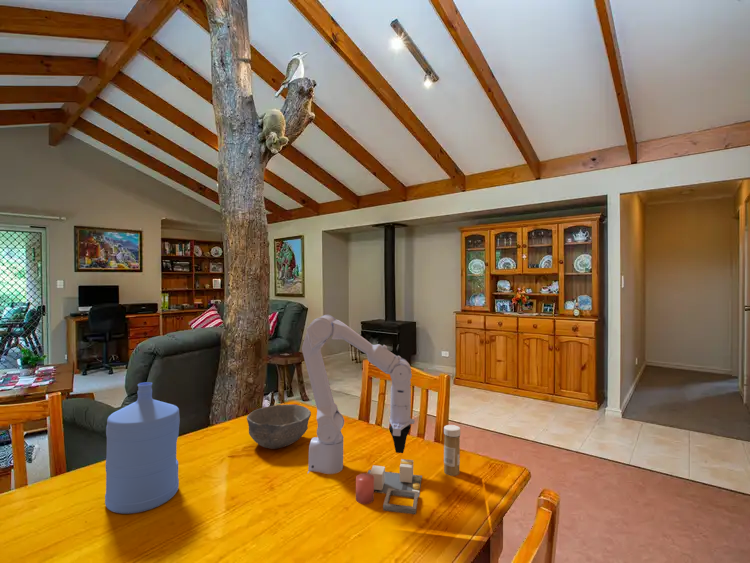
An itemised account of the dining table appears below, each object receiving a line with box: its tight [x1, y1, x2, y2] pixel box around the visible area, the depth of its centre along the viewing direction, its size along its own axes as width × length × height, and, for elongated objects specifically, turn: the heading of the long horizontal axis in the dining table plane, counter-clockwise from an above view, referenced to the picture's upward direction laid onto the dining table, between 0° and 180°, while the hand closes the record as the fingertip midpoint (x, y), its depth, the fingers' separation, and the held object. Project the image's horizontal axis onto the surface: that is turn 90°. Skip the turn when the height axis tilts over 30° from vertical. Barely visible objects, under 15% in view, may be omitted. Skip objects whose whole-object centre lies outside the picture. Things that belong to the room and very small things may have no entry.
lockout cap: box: [355, 472, 375, 505], centre depth 96 cm, size 4×4×6 cm
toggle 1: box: [370, 464, 386, 490], centre depth 102 cm, size 3×4×4 cm
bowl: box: [246, 404, 312, 450], centre depth 130 cm, size 21×21×10 cm
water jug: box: [104, 381, 181, 515], centre depth 97 cm, size 16×16×28 cm
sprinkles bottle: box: [443, 424, 461, 477], centre depth 111 cm, size 5×5×13 cm
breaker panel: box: [367, 469, 423, 498], centre depth 104 cm, size 15×11×2 cm
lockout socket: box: [382, 488, 419, 515], centre depth 95 cm, size 8×8×2 cm
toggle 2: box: [399, 458, 414, 483], centre depth 106 cm, size 3×4×4 cm
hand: (399, 451), depth 110 cm, fingers closed
